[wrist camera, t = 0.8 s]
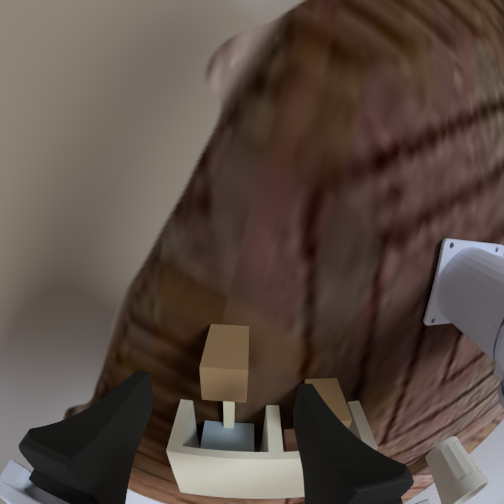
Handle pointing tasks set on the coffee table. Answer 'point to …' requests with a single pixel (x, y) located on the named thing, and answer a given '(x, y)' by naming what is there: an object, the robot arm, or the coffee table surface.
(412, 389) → the coffee table surface
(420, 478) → the coffee table surface
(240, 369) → the tan and blue dumbbell
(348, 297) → the coffee table surface
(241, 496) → the shelf
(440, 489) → the cup
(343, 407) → the tan block
